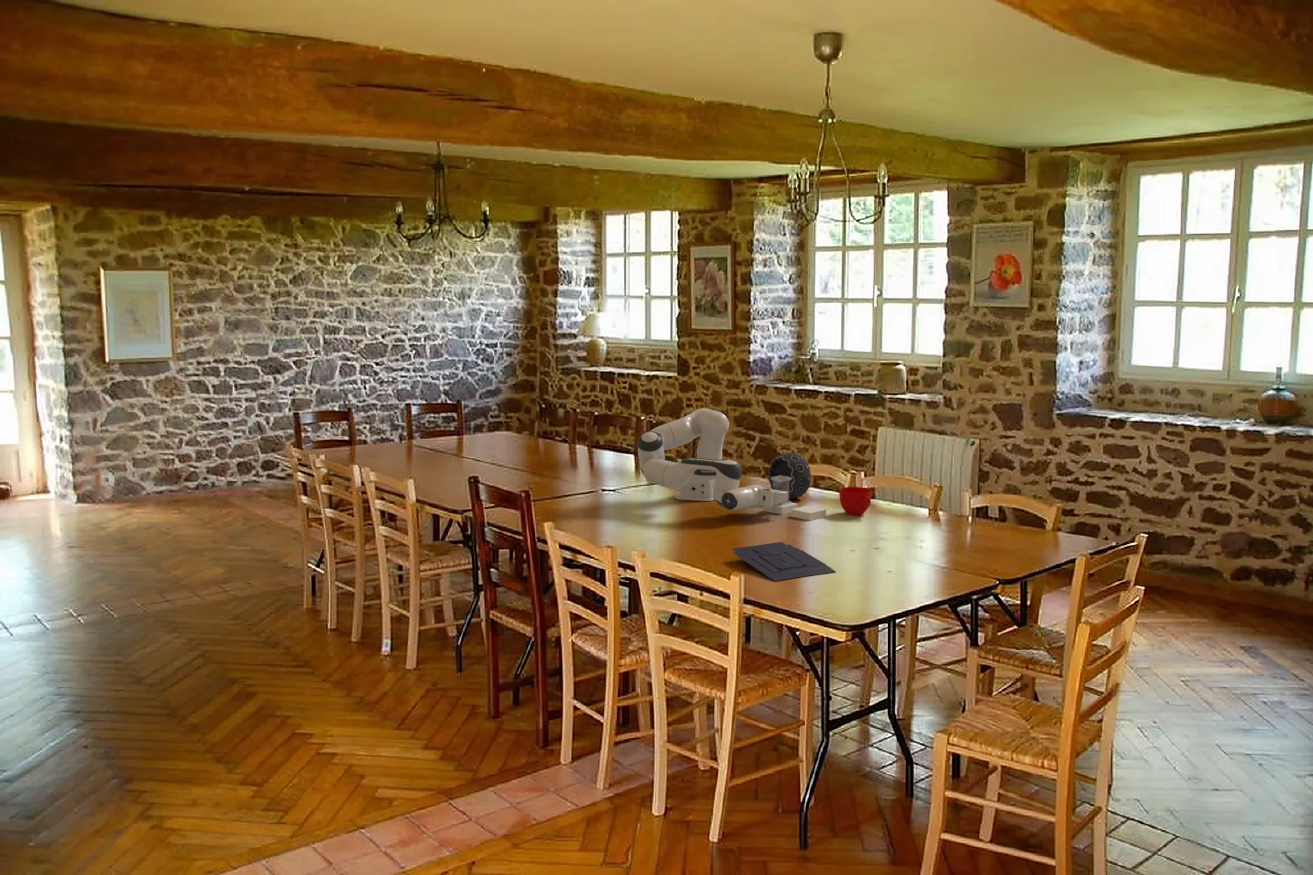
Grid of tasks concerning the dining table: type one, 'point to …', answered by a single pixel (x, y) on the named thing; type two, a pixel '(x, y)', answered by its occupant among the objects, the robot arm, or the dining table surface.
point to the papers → (781, 561)
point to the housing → (781, 486)
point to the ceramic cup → (855, 500)
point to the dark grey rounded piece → (792, 473)
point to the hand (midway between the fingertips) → (777, 491)
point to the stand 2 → (808, 513)
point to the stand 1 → (781, 508)
